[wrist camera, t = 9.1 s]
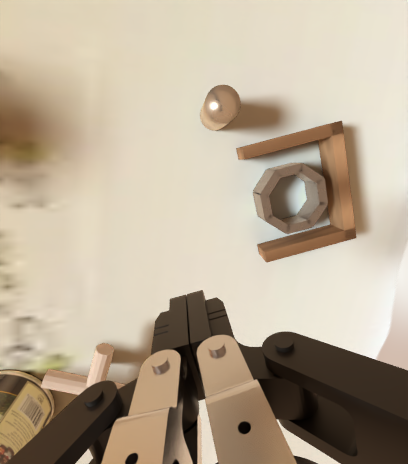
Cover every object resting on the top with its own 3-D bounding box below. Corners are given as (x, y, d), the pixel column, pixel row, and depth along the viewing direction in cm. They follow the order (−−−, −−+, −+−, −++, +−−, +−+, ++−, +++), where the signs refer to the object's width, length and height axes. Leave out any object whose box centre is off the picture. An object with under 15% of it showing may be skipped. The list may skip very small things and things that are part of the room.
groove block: (236, 148, 31) (242, 147, 28) (326, 124, 31) (341, 120, 28) (259, 253, 34) (266, 262, 31) (341, 231, 34) (356, 237, 31)
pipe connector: (155, 331, 35) (146, 395, 26) (134, 397, 37) (118, 480, 28) (72, 312, 34) (30, 372, 24) (55, 381, 36) (9, 463, 26)
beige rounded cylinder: (197, 104, 30) (201, 89, 24) (225, 96, 30) (236, 80, 24) (204, 133, 30) (210, 127, 24) (231, 126, 30) (243, 118, 25)
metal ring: (248, 173, 32) (255, 174, 29) (308, 158, 32) (321, 157, 29) (260, 232, 33) (268, 238, 31) (317, 217, 34) (330, 222, 31)
